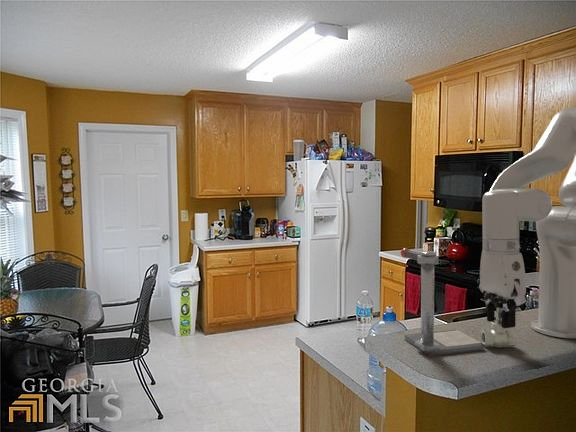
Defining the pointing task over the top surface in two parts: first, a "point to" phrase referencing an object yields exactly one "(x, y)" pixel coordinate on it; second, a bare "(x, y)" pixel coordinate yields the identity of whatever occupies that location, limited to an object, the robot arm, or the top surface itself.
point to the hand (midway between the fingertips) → (500, 323)
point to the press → (428, 338)
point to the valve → (498, 326)
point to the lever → (419, 257)
